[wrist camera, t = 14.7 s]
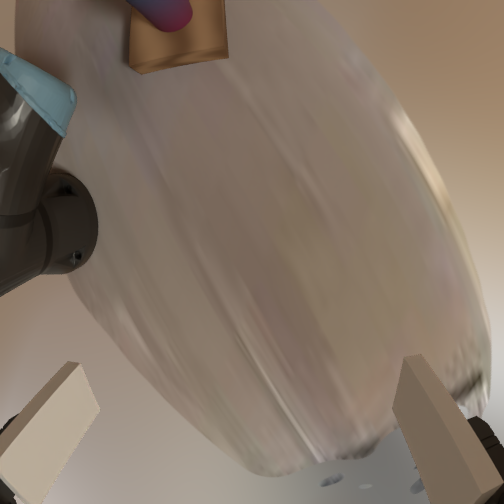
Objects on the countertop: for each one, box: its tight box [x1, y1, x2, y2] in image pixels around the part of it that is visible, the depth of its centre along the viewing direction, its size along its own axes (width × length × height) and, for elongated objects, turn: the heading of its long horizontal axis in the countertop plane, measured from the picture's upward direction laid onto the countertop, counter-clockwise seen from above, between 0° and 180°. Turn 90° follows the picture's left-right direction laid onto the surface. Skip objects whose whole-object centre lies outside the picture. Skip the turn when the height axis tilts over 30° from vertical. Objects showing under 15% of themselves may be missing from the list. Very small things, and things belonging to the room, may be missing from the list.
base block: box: [129, 0, 229, 75], centre depth 30 cm, size 12×12×4 cm
